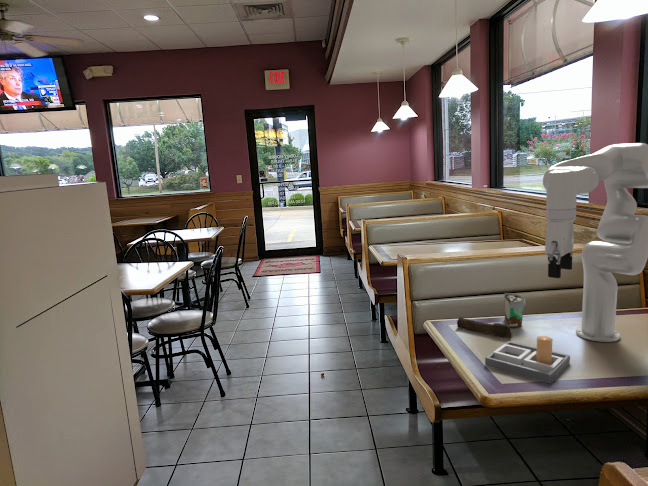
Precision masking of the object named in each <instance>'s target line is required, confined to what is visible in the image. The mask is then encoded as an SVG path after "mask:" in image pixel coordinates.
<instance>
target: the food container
mask: <svg viewBox="0 0 648 486" xmlns="http://www.w3.org/2000/svg"><path fill="white" fill-rule="evenodd" d="M526 305H527V302H526V299H525V297H524V296H523V295H520V294H518V293H512V292H504V321H505V323H506V325H507V326H508V327H509V328H510V329H519V328H520V327H522V325H523V317H524V307H525V306H526Z"/></svg>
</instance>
